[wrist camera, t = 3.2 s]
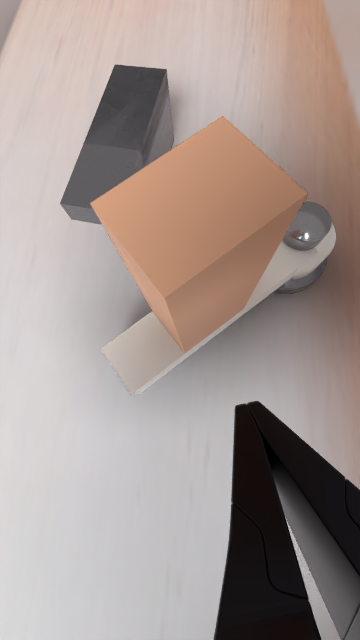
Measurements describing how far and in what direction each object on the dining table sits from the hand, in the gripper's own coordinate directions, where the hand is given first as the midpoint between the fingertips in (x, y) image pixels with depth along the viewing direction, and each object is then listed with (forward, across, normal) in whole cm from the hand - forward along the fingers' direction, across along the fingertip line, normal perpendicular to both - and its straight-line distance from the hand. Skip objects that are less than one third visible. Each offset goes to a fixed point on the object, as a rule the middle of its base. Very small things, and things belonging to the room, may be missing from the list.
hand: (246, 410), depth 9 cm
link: (+9, -1, 0) cm, 9 cm away
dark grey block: (+17, +3, -7) cm, 18 cm away
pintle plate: (+11, -6, -1) cm, 13 cm away
